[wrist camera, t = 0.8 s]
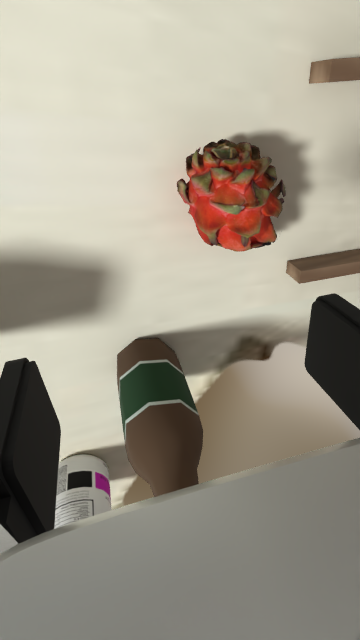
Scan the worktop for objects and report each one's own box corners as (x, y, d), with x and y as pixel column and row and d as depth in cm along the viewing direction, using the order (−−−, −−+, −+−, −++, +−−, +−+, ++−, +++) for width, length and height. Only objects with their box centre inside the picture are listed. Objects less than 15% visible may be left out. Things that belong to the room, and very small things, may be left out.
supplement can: (117, 457, 51) (129, 569, 39) (91, 490, 54) (94, 605, 42) (66, 446, 48) (61, 566, 35) (40, 482, 50) (27, 605, 38)
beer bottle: (129, 327, 40) (176, 551, 20) (186, 344, 43) (274, 551, 23) (103, 376, 43) (122, 613, 23) (158, 389, 46) (216, 606, 26)
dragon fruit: (179, 127, 31) (241, 215, 39) (139, 199, 29) (213, 278, 37) (260, 93, 25) (314, 205, 33) (217, 182, 23) (286, 280, 31)
